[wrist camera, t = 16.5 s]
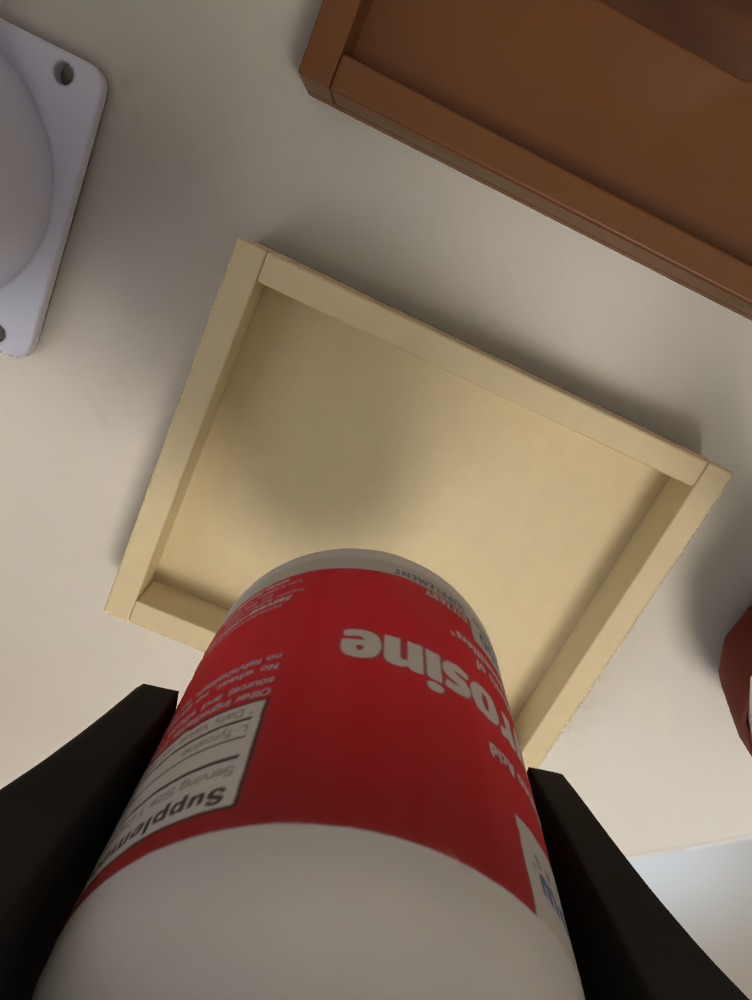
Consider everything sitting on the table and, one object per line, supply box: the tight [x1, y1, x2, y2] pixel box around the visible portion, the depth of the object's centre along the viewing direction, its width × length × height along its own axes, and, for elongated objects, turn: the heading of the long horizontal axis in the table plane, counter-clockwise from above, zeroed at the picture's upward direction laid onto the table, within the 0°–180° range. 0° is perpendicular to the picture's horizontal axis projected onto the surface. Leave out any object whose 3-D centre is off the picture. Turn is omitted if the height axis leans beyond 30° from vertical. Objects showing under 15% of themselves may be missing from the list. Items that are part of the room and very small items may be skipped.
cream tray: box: [104, 238, 733, 772], centre depth 20 cm, size 15×12×2 cm
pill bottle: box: [31, 548, 585, 1000], centre depth 9 cm, size 6×6×11 cm
